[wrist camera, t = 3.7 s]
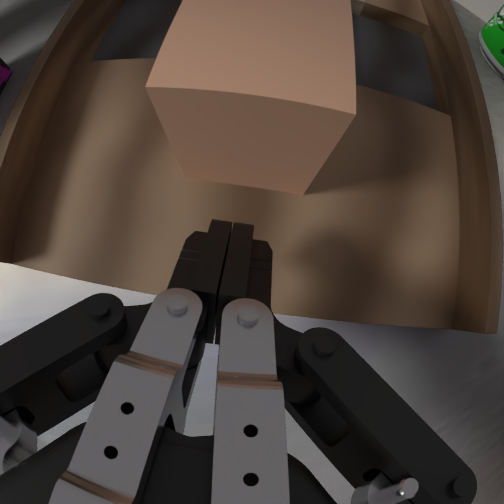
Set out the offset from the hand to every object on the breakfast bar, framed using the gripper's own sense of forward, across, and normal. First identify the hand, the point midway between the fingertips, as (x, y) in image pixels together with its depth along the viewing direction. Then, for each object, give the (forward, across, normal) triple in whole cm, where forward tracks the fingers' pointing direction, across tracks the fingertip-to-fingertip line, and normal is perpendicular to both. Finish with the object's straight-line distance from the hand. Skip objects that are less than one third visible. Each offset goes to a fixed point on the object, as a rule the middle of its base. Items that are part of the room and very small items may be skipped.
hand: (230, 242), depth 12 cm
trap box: (+15, 0, -7) cm, 17 cm away
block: (+7, 0, -2) cm, 8 cm away
